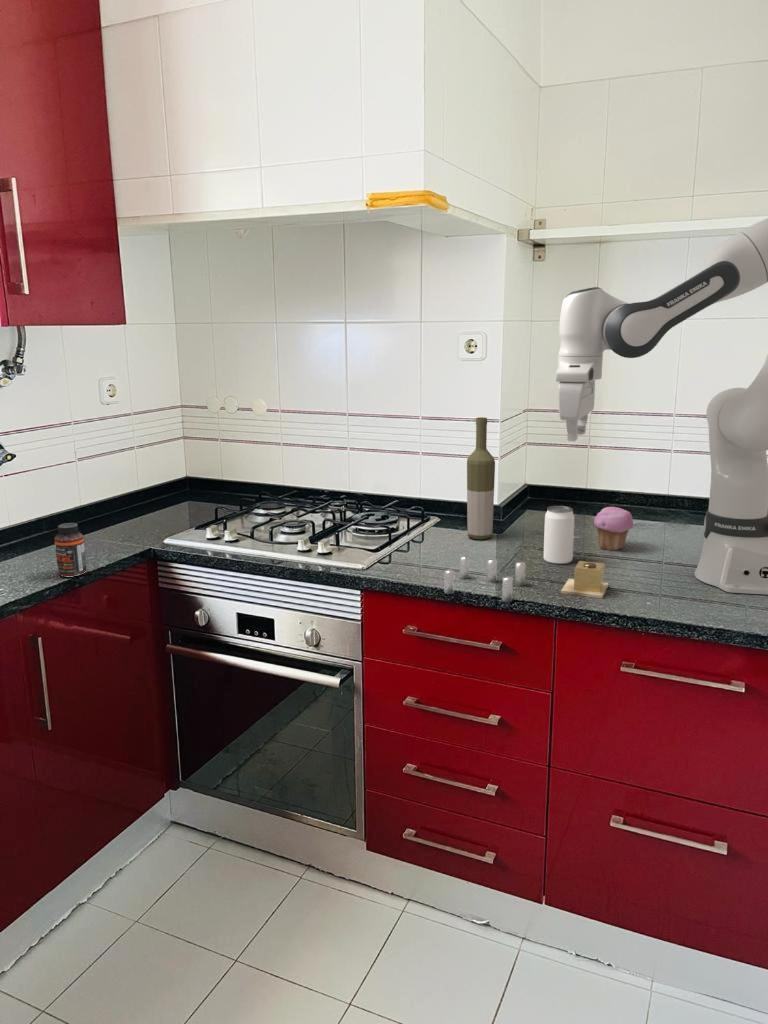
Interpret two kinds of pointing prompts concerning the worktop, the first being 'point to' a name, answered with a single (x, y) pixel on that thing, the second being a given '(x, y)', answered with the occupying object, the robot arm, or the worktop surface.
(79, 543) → the supplement bottle
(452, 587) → the spacer posts
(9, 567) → the worktop surface
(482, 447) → the bottle
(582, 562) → the cube with brass knob
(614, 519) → the cupcake
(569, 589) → the coaster
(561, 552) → the can
